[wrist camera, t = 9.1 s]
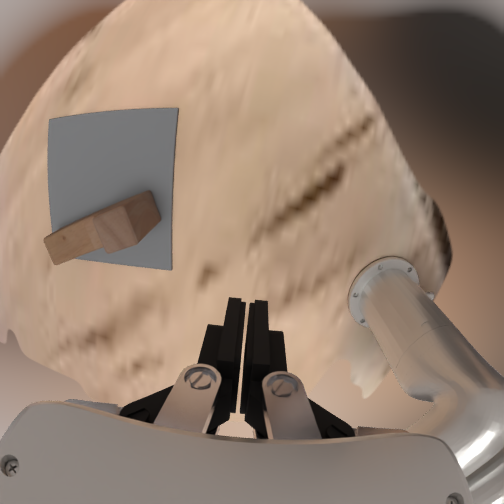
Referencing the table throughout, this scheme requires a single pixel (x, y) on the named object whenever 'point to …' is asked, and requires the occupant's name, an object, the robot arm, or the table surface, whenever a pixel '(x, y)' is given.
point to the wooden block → (105, 229)
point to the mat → (114, 174)
